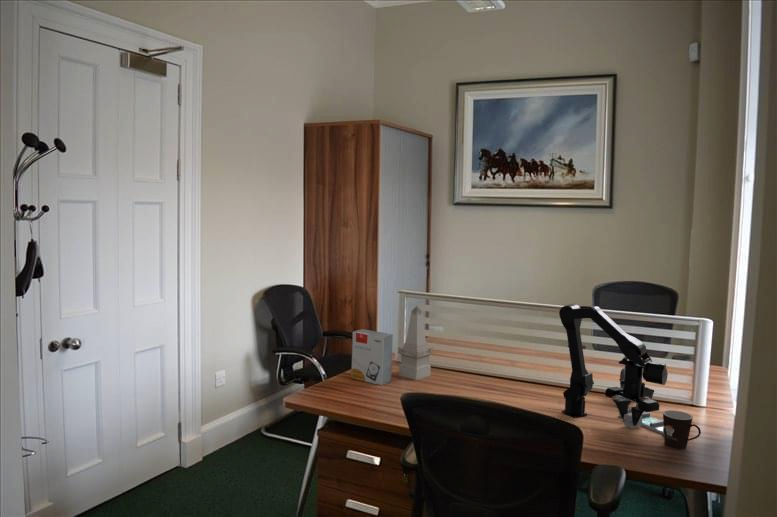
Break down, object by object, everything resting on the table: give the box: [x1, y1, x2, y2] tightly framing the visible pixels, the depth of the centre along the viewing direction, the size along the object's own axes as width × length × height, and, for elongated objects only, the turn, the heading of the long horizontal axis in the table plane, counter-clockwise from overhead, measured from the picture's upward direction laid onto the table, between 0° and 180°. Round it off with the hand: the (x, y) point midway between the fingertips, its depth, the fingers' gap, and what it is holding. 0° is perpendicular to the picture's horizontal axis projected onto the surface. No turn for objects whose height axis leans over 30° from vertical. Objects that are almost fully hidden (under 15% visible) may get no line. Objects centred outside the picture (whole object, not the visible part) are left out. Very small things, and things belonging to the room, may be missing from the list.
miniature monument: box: [397, 306, 434, 381], centre depth 273 cm, size 10×10×30 cm
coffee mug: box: [662, 409, 702, 450], centre depth 203 cm, size 12×9×10 cm
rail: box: [618, 407, 664, 436], centre depth 223 cm, size 8×20×2 cm, turn 27°
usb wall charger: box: [620, 413, 642, 429], centre depth 219 cm, size 4×7×4 cm, turn 123°
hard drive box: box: [350, 328, 394, 386], centre depth 265 cm, size 16×8×20 cm, turn 58°
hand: (629, 423), depth 219 cm, fingers closed on usb wall charger, 4 cm apart
